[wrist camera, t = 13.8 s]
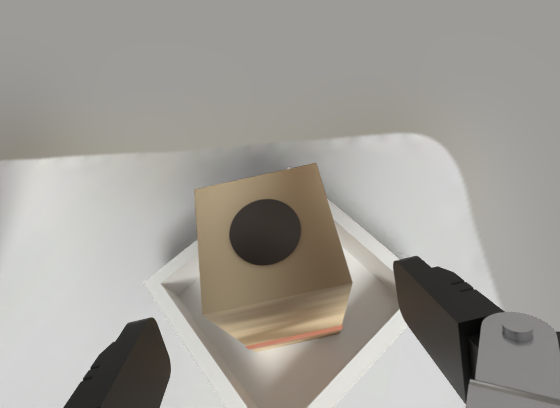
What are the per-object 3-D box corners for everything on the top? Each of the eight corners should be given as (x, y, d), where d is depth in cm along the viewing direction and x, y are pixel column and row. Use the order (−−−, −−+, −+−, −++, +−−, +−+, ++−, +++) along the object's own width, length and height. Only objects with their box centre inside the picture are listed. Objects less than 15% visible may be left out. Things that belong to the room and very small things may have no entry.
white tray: (166, 298, 23) (142, 282, 20) (293, 193, 26) (289, 166, 23) (279, 462, 17) (270, 476, 14) (421, 307, 20) (438, 292, 17)
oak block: (254, 353, 19) (199, 316, 11) (243, 270, 22) (192, 187, 13) (340, 334, 19) (355, 282, 11) (319, 254, 22) (316, 160, 13)
